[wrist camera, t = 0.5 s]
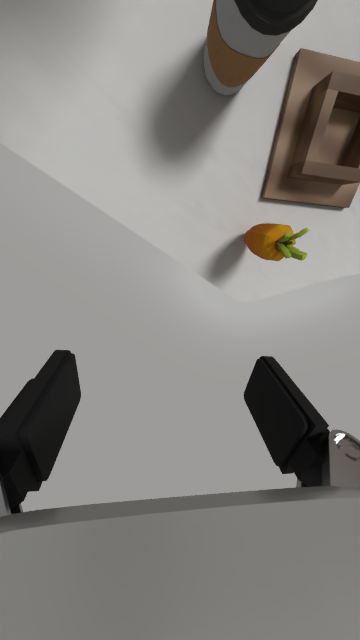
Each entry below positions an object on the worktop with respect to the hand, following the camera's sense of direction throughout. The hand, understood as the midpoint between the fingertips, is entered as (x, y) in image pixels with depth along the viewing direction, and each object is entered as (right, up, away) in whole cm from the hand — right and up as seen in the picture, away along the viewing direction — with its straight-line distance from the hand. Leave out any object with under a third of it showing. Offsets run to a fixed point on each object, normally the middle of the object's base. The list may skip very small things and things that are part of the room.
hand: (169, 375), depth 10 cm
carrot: (+13, +18, +26) cm, 34 cm away
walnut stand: (+23, +30, +20) cm, 43 cm away
